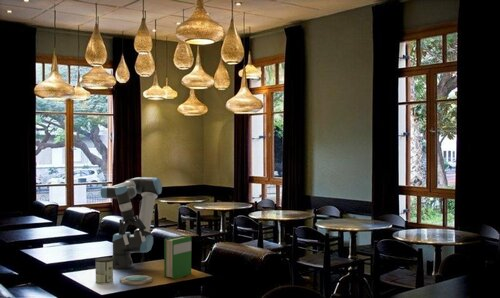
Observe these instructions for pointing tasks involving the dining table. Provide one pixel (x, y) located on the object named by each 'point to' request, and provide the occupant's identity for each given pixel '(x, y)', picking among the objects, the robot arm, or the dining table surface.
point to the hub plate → (136, 280)
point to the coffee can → (104, 270)
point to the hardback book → (177, 256)
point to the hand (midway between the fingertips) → (135, 243)
